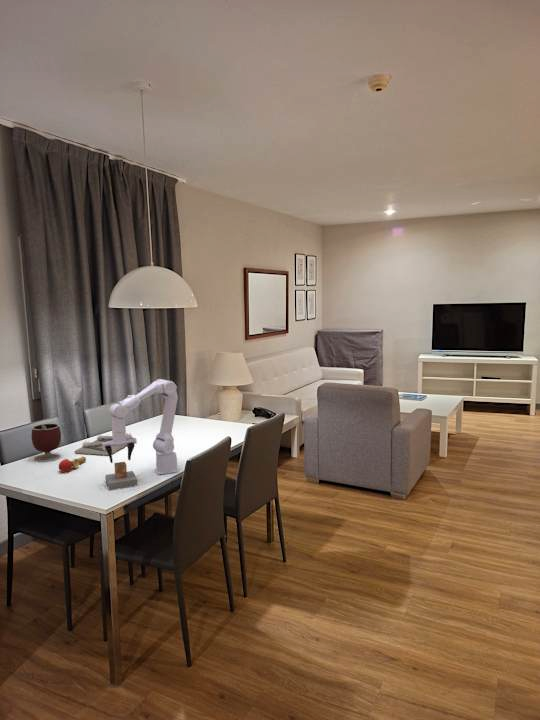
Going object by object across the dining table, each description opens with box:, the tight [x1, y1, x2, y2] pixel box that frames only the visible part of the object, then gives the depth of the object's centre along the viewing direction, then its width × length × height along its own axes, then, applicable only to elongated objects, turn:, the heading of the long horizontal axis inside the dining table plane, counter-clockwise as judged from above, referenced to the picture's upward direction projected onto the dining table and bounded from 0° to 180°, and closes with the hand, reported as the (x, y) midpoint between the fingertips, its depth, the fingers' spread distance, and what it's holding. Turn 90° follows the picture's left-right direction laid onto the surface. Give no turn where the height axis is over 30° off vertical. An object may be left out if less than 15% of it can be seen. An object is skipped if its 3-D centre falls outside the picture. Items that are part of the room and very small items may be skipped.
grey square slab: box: [105, 470, 138, 491], centre depth 224 cm, size 12×12×3 cm
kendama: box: [58, 456, 87, 473], centre depth 246 cm, size 8×6×18 cm
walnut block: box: [113, 461, 128, 479], centre depth 223 cm, size 4×4×6 cm
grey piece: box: [74, 432, 137, 457], centre depth 280 cm, size 30×22×7 cm
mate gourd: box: [30, 422, 62, 463], centre depth 258 cm, size 16×14×20 cm
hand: (120, 461), depth 223 cm, fingers open, 7 cm apart
